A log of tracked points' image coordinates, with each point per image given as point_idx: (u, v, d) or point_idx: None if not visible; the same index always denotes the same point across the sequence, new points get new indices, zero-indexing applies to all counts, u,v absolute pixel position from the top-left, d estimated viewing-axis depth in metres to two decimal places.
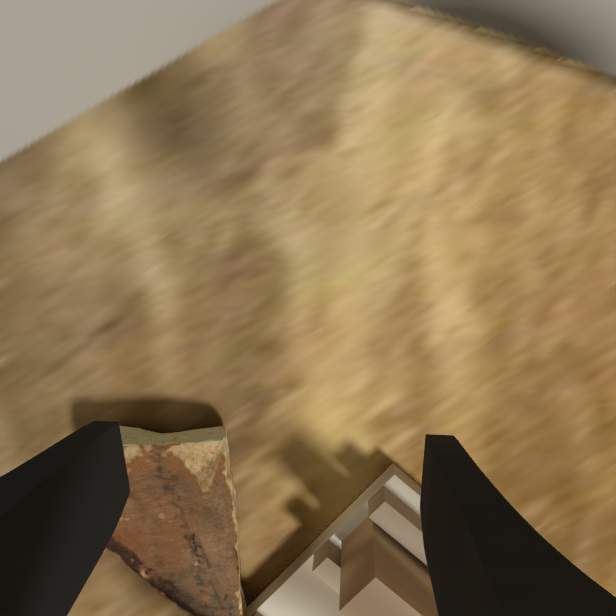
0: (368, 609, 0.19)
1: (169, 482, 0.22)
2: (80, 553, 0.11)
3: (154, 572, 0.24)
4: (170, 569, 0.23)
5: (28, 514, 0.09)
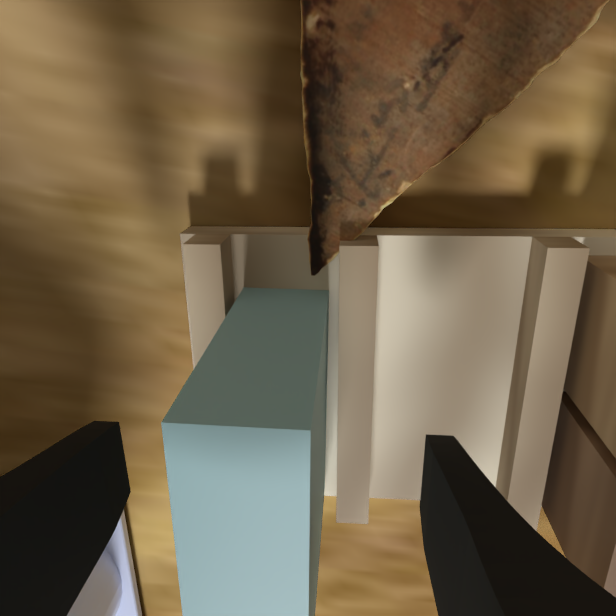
0: None
1: None
2: (80, 553, 0.11)
3: (332, 36, 0.12)
4: (362, 55, 0.12)
5: (27, 515, 0.09)
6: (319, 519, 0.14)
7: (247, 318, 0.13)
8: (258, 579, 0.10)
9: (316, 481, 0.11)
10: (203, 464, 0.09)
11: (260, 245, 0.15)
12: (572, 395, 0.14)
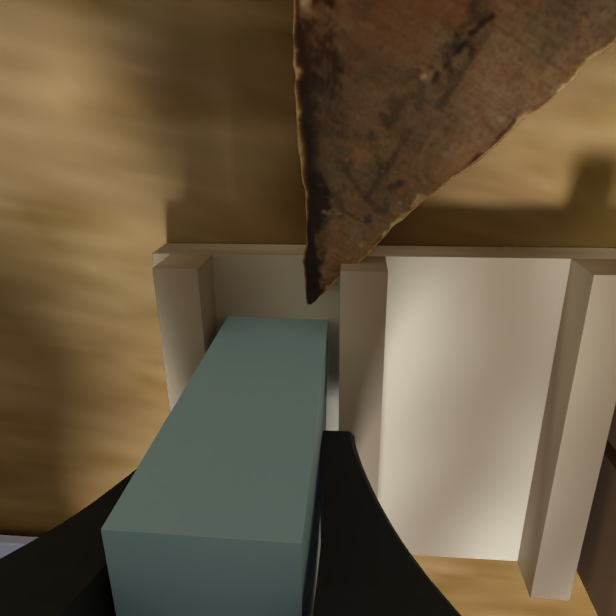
0: None
1: None
2: None
3: (331, 15, 0.10)
4: (368, 39, 0.10)
5: None
6: None
7: (229, 359, 0.11)
8: None
9: (312, 571, 0.09)
10: (160, 581, 0.07)
11: (247, 267, 0.12)
12: None
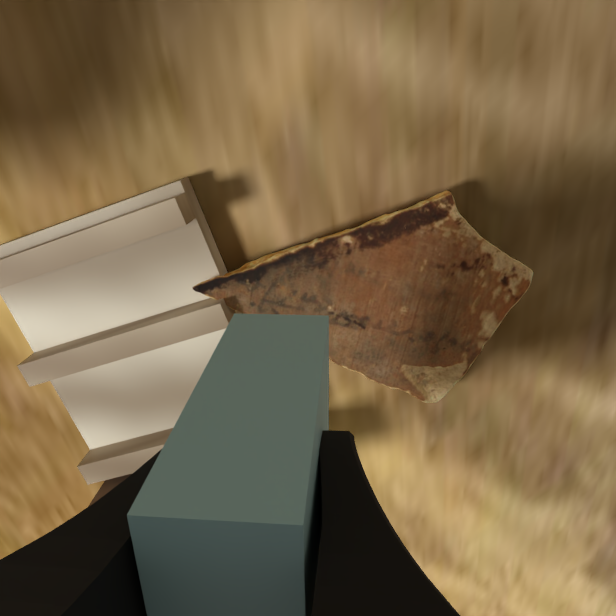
0: None
1: (433, 341, 0.20)
2: None
3: (343, 254, 0.19)
4: (337, 276, 0.19)
5: None
6: None
7: (236, 356, 0.12)
8: None
9: (315, 549, 0.10)
10: (179, 559, 0.08)
11: (197, 241, 0.20)
12: None
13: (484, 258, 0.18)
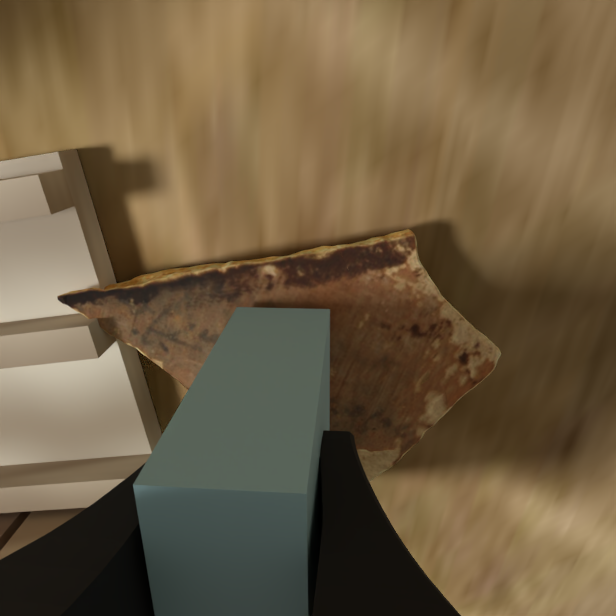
0: None
1: (362, 418, 0.15)
2: None
3: (261, 288, 0.14)
4: None
5: None
6: None
7: (239, 345, 0.12)
8: None
9: (317, 532, 0.10)
10: (183, 530, 0.08)
11: (73, 237, 0.15)
12: (30, 517, 0.17)
13: (442, 325, 0.14)
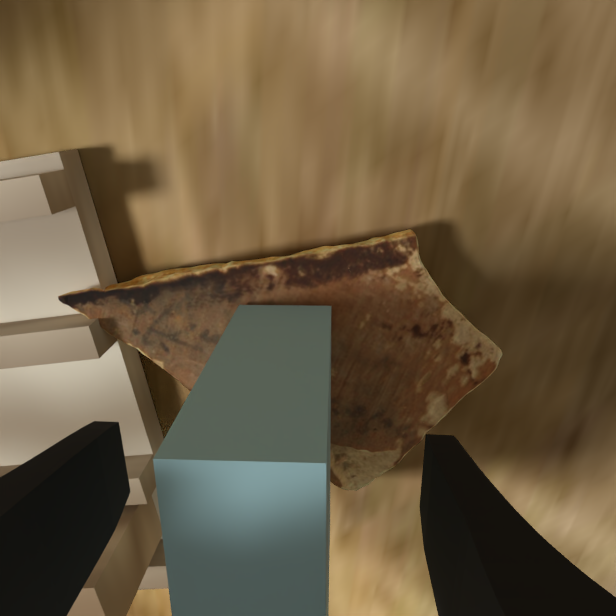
0: (78, 610, 0.14)
1: (363, 419, 0.15)
2: (80, 553, 0.11)
3: (262, 289, 0.14)
4: None
5: (28, 515, 0.09)
6: None
7: (245, 337, 0.12)
8: None
9: None
10: (202, 506, 0.08)
11: (74, 237, 0.15)
12: None
13: (443, 325, 0.14)
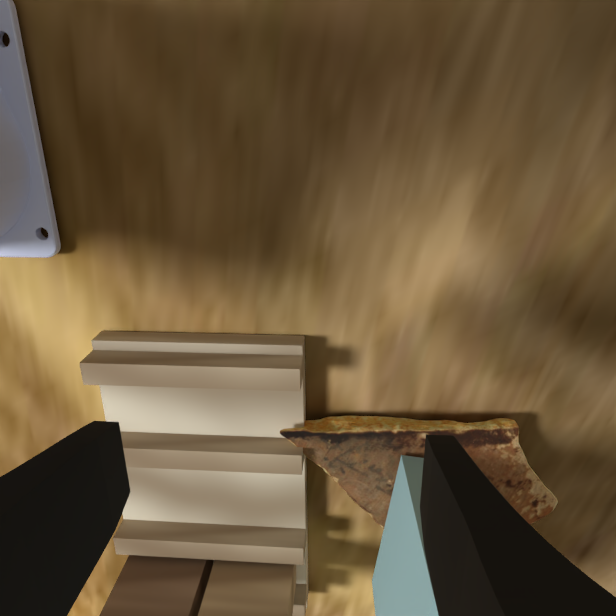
0: None
1: None
2: (80, 553, 0.11)
3: (416, 446, 0.22)
4: None
5: (28, 515, 0.09)
6: None
7: None
8: None
9: None
10: None
11: (296, 394, 0.22)
12: (216, 563, 0.25)
13: (525, 482, 0.22)
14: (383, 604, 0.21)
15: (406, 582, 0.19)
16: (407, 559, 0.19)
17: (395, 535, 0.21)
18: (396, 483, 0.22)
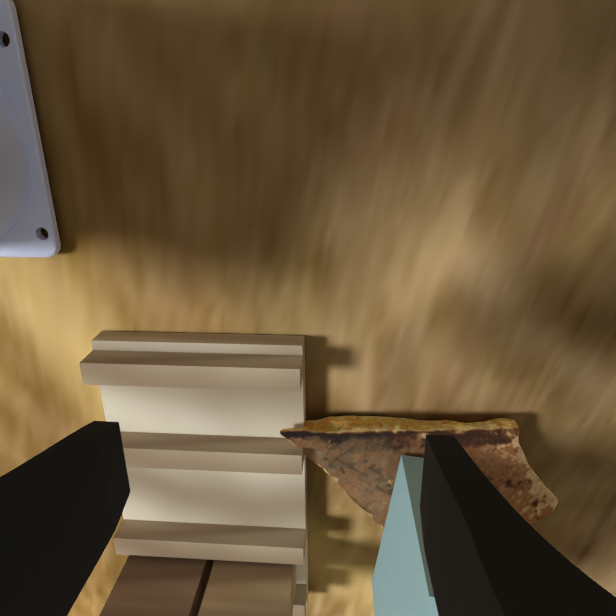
0: None
1: None
2: (80, 553, 0.11)
3: (416, 446, 0.22)
4: None
5: (28, 515, 0.09)
6: None
7: None
8: None
9: None
10: None
11: (296, 394, 0.22)
12: (216, 563, 0.25)
13: (525, 482, 0.22)
14: (382, 603, 0.21)
15: (404, 581, 0.19)
16: (405, 558, 0.19)
17: (394, 534, 0.21)
18: (396, 483, 0.22)
